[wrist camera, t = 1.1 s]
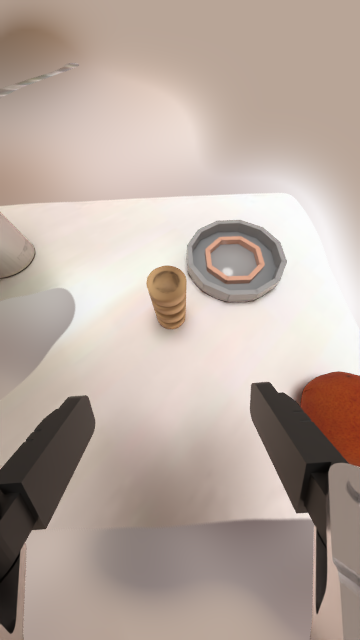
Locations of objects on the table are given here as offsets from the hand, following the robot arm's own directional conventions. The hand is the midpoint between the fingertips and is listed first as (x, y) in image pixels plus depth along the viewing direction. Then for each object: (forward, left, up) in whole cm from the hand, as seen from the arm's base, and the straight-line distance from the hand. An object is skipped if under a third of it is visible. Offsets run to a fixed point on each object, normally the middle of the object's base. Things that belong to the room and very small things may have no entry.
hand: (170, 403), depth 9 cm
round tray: (+10, +22, -15) cm, 29 cm away
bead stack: (-1, +12, -15) cm, 20 cm away
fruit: (+18, -2, -16) cm, 24 cm away
